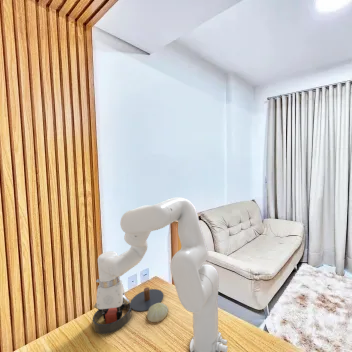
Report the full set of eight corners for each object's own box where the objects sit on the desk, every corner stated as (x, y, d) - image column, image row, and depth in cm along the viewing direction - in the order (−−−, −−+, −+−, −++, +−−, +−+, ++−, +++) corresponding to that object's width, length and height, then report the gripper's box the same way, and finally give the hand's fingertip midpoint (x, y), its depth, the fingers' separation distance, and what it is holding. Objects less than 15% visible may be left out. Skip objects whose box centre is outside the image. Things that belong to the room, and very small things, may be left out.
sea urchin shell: (163, 301, 101) (166, 296, 96) (168, 318, 98) (172, 314, 93) (143, 310, 96) (146, 305, 91) (148, 328, 92) (151, 325, 87)
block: (120, 315, 95) (119, 306, 94) (116, 323, 90) (115, 313, 90) (110, 316, 94) (109, 307, 93) (105, 324, 90) (104, 315, 89)
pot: (138, 313, 96) (138, 304, 96) (110, 339, 83) (109, 329, 82) (116, 305, 101) (115, 297, 101) (85, 329, 88) (84, 319, 87)
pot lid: (169, 294, 109) (169, 283, 108) (147, 316, 94) (146, 303, 94) (147, 288, 114) (146, 277, 113) (123, 307, 100) (122, 295, 99)
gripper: (83, 288, 85) (88, 328, 87) (127, 283, 88) (130, 323, 90) (93, 277, 92) (96, 315, 94) (133, 273, 95) (135, 310, 97)
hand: (113, 318), depth 92 cm, fingers closed on block, 4 cm apart
